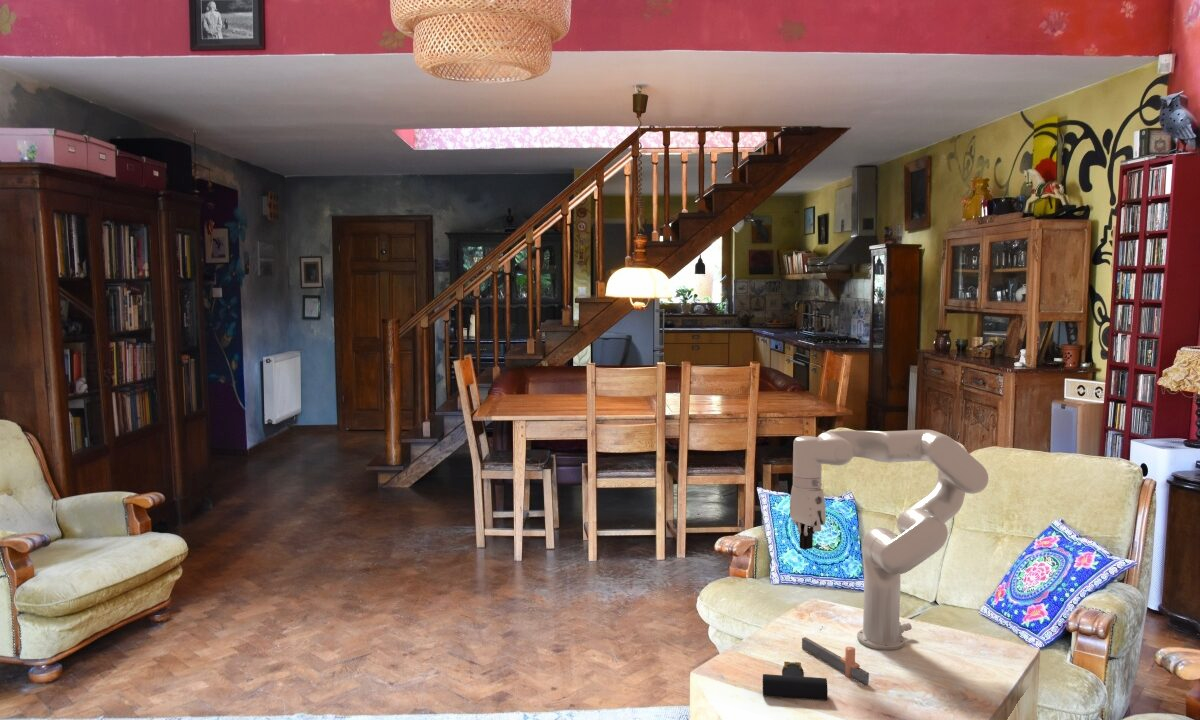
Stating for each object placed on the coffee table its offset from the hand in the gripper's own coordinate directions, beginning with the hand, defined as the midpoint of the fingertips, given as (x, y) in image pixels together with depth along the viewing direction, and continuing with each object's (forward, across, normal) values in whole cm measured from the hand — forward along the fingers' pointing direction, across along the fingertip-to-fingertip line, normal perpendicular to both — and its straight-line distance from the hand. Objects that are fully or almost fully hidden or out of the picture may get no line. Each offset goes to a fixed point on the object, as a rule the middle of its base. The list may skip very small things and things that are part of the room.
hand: (806, 548), depth 232 cm
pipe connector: (+28, -20, +20) cm, 39 cm away
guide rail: (+27, -14, +2) cm, 31 cm away
